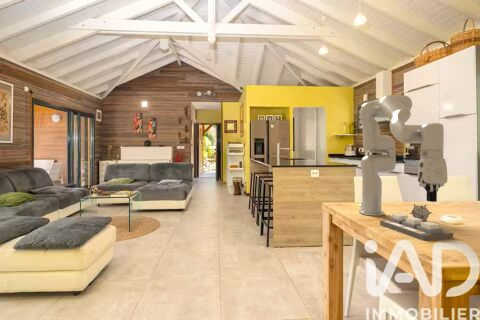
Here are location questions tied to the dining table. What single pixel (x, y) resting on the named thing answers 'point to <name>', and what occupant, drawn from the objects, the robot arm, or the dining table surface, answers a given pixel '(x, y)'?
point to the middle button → (414, 220)
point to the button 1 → (399, 216)
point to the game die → (420, 212)
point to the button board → (416, 230)
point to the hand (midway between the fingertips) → (431, 201)
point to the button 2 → (429, 225)
